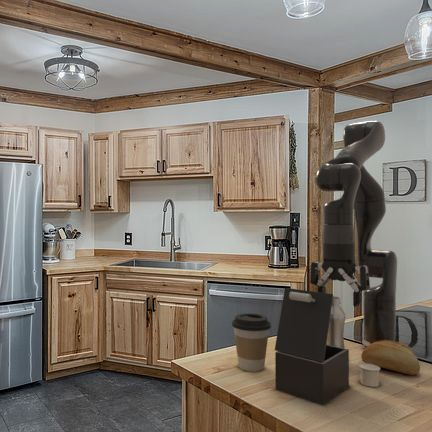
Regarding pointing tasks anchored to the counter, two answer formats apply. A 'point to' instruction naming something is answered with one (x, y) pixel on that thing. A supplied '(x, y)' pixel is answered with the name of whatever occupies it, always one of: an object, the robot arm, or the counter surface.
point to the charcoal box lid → (304, 323)
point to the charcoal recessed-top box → (313, 374)
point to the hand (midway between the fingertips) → (339, 303)
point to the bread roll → (391, 356)
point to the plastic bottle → (336, 325)
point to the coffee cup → (251, 340)
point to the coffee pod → (369, 375)
